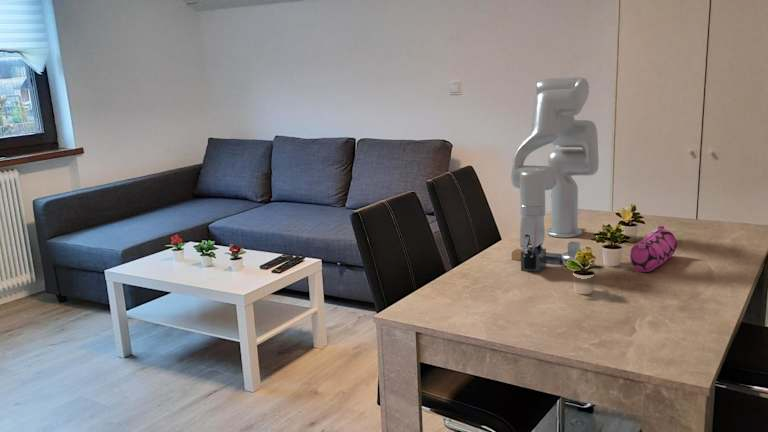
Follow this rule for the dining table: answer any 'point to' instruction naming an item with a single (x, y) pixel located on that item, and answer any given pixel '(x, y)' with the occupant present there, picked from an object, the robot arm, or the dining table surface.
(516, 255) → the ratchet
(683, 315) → the dining table surface
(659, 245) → the pencil case
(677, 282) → the dining table surface
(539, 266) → the dark slate cube
